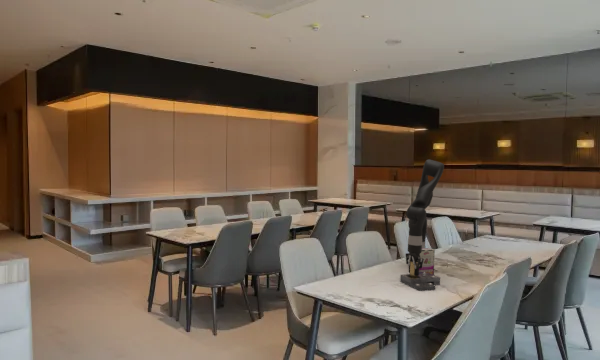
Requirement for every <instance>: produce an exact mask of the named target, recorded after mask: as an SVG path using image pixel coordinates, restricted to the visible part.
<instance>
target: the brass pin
mask: <svg viewBox="0 0 600 360" xmlns="http://www.w3.org/2000/svg"><path fill="white" fill-rule="evenodd" d="M415 263H418V262H415ZM416 266H417V264H416ZM414 273H415V266H414V264H413V261H411V262H410V273H409V274H410V278H417V276H415V275H414Z"/></svg>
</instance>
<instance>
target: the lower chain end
mask: <svg viewBox="0 0 600 360" xmlns="http://www.w3.org/2000/svg"><path fill="white" fill-rule="evenodd" d="M399 279H400V280H399V281H400V283H402V284H404V285H406V286H408V287H410V288H412V289H414V290H416V291H417V292H424V291H435V290H436V285H433V284H432V283H428V282H419V283H409V282H407V281H405V280H403V279H401V278H400V277H399Z"/></svg>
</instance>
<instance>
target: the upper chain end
mask: <svg viewBox="0 0 600 360" xmlns="http://www.w3.org/2000/svg"><path fill="white" fill-rule="evenodd" d="M400 278H401V279H403V280H405V281H407V282H409V283H419V282H427V283H432V285H434V286H440V285H441V277H440V276H438V275H436V274H434V275H433V274H431V273H426V272H423V273H420V274H419V275H418V276H417V278H410V273H406V274H400V276H399V279H400Z"/></svg>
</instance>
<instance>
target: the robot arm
mask: <svg viewBox="0 0 600 360" xmlns="http://www.w3.org/2000/svg"><path fill="white" fill-rule="evenodd" d="M444 169H445V164H444V163H442V162H440V161H437V160H433V159H426V160H425V162H424V164H423V167H422V172H421V178H420V182H419V185H418V189H417V191H416V192H417V193H416V196H415V198H414V200H413V201H412V202H411V204H410V205H409V206H408V208H407V209H406V213H405V214H406V217H407V219H408V223H407V224H408V238H407V253H405V263H406V265H407V266H408V274H410V262H411V261H413V264H414V266H415V273H414V275H415V276H418V275H419V269H420V268H422V264H423V258H421V257H420V253H421V252H422V249H424V248H426V238H427V228H428V219H427V210H426V209H427V208H428V207H429V206H430V205H431V203H432V200H433V197H434V190H435V188H436V187H437V185H438V183H439V181H440V179H441V177H442V175H443V173H444ZM429 177H432V180H430V181H429ZM415 262H418V263H415ZM416 264H417V266H416Z"/></svg>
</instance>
